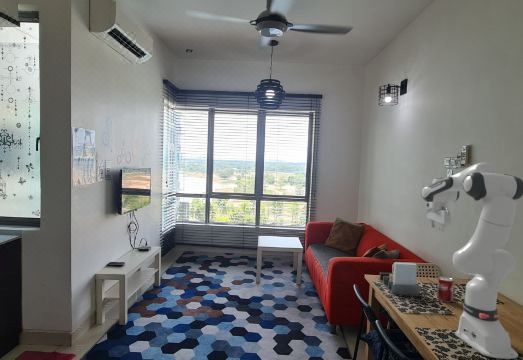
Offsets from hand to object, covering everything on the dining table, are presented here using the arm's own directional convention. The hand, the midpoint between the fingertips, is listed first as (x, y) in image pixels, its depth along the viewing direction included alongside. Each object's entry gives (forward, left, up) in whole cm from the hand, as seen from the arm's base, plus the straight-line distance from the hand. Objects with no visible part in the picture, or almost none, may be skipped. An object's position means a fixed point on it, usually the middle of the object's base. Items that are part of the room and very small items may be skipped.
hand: (437, 229), depth 179 cm
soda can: (-12, 0, -37) cm, 39 cm away
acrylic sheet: (-4, +19, -36) cm, 41 cm away
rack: (+4, +19, -37) cm, 42 cm away
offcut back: (+4, +19, -36) cm, 41 cm away
